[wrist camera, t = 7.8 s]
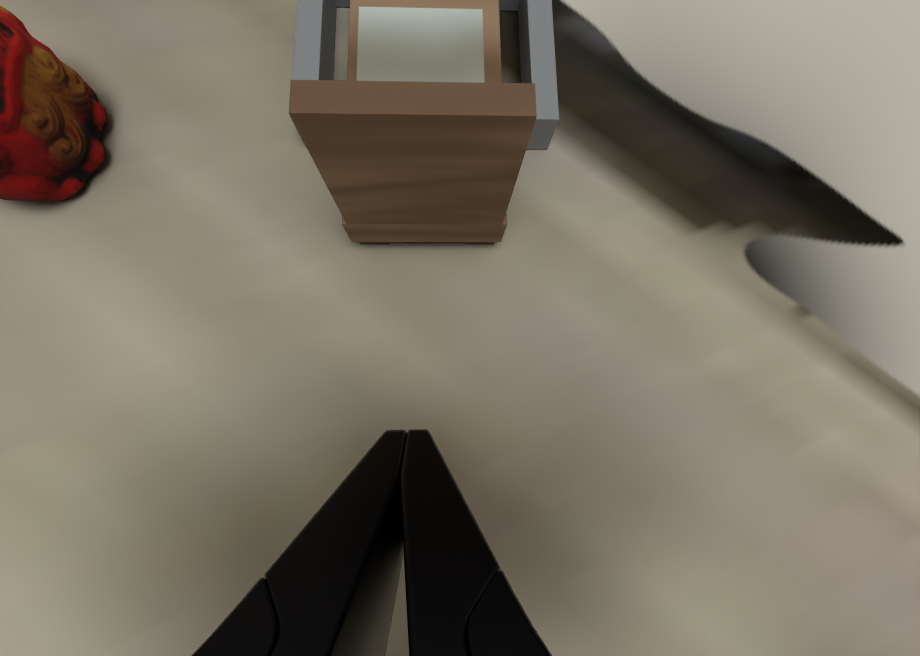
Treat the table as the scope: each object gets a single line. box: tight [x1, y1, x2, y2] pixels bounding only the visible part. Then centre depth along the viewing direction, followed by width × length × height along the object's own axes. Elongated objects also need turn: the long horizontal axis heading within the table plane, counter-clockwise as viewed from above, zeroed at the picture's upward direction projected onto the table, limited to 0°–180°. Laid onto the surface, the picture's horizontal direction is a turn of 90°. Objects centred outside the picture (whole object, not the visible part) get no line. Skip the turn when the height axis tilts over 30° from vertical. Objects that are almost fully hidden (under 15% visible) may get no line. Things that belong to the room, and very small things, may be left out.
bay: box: [290, 0, 559, 150], centre depth 22 cm, size 10×12×2 cm
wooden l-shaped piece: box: [289, 0, 537, 244], centre depth 18 cm, size 14×7×10 cm, turn 1°
